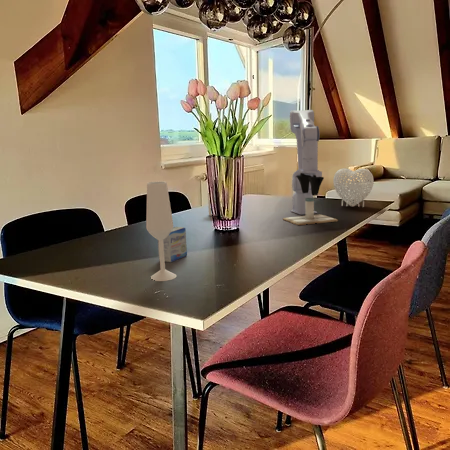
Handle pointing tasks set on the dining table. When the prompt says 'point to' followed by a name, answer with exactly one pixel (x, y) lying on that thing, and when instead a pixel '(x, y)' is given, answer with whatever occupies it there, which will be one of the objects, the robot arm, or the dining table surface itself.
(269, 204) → the dining table surface
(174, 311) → the dining table surface
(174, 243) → the medicine box
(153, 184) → the champagne flute
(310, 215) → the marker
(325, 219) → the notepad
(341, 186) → the decorative heart
